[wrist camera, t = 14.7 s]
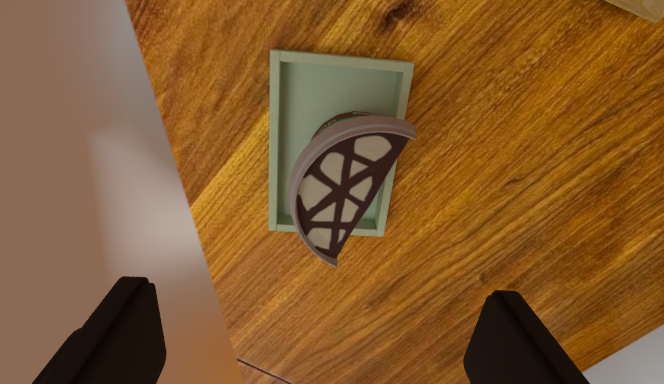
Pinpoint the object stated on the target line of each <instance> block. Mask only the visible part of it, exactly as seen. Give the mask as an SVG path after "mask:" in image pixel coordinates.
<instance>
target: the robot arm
mask: <svg viewBox="0 0 664 384" xmlns="http://www.w3.org/2000/svg"><path fill="white" fill-rule="evenodd" d="M165 360H166V347H165V341H164V335H163V330H162V324H161V318H160V312H159V307H158V300H157V295H156V289H155V285H154V284H153V283H149V281H148V279H147V278H146V277H126V276H123V277H121V278H120V279H119V280H118V281H117V282H116V284H115V285H114V286H113V287H112V289H111V290H110V291H109V293H108V294H107V295H106V296H105V298H104V299H103V300H102V302H101V303H100V304H99V306H98V307H97V308H96V309H95V311H94V312H93V313H92V315H91V316H90V317H89V319H88V320H87V321H86V322H85V324H84V325H83V327H82V328H79V329H78V330H76V331H74V332H73V333H72V334H71V335H70V336H69V337H68V338H67V340H66V341H65V342H64V343H63V345H62V346H61V347H60V349H59V350H58V351H57V352H56V354H55V355H54V356H53V357H52V359H51V360H50V361H49V363H48V364H47V365H46V366H45V368H44V369H43V370H42V371H41V373H40V374H39V375H38V376H37V378H36V379H35V380H34V382H33V383H32V384H156V383H157V381H158V378H159V376H160V374H161V371H162V369H163V367H164V364H165ZM463 363H464V369H465V372H466V374H467V376H468V378H469V381H470V383H471V384H590V383H589V382H588V381H587V379H586V378H585V377H584V376H583V374H582V373H581V372H580V370H579V369H578V368H577V367H576V365H575V364H574V363H573V361H572V360H571V359H570V358H569V356H568V355H567V354H566V352H565V351H564V350H563V349H562V347H561V346H560V345H559V344H558V342H557V341H556V340H555V338H554V337H553V336H552V335H551V333H550V332H549V331H548V329H547V328H546V327H545V326H544V324H543V323H542V322H541V320H540V319H539V318H538V317H537V315H536V314H535V313H534V312H533V310H532V309H531V308H530V306H529V305H528V304H527V303H526V301H525V300H524V299H523V297H522V296H521V295H520V294H519V293H518V292H516V291H503V290H495V291H494V292H493V293H492V295H489V296H488V297H487V298H486V301H485V303H484V306H483V309H482V311H481V314H480V316H479V319H478V322H477V324H476V327H475V329H474V332H473V335H472V337H471V340H470V342H469V345H468V348H467V350H466V353H465V355H464V360H463Z"/></svg>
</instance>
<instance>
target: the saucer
mask: <svg viewBox="0 0 664 384" xmlns="http://www.w3.org/2000/svg"><path fill="white" fill-rule="evenodd" d="M604 1H606V2H608V3H611V4H613V5H615V6H617V7H619V8H622V9H624V10H626V11H628V12H630V13H633V14H635V15H637V16H639V17H641V18H643V19H645V20H647V21H649V22H651V23H656V22H657V21H659V20H660V19H661V18H662V17H663V15H664V0H604Z"/></svg>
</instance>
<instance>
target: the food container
mask: <svg viewBox="0 0 664 384" xmlns="http://www.w3.org/2000/svg"><path fill="white" fill-rule="evenodd" d="M415 135H416V130H415V127H414V124H412V123H409V122H407V121H404V120H402V119H398V118H394V117H389V116H378V115H375V114H372V113H368V112H358V111H353V112H348V113H343V114H339V115H336V116H335V117H333V118H331V119H330V120H328V121H326V122H324V123H323V124H322V125H321V126H320V128H319V129H318V130H317V131H316V132H315V134H314V135H313V137H312V138H311V141H310V142H309V143H308V145H307V146H306V147H305V148H304V149H303V151H302V152H301V153H300V155H299V157H298V158H297V160H296V162H295V164H294V166H293V169H292V172H291V174H290V179H289V184H288V203H289V209H290V213H291V216H292V220H293V222H294V225H295V228H296V230H297V232H298V234H299V236H300V238H301V239H302V240H303V242H304V243H305V244H306V245H307V247H308V248H309V249H310V250H311V251H312V252H313V253H314V254H315V255H316V256H317V257H318V258H320V259H321V260H323V261H324V262H326V263H327V264H329V265H332V266H334V267H336V268H337V256H338V254H339V253H340V252H341V249H342V247H343V245H344V244H345V242H346V240H347V239H348V237H349V236H350V234H351V233H352V231H353V229H354V228H355V226H356V225H357V223H358V222H359V221H360V219H361V218H362V216H363V215H364V214H365V212H366V211H367V209H368V208H369V206H370V205H371V203H372V201H373V199H374V198H375V196H376V194H377V192H378V190H379V188H380V187H381V185H382V183H383V181H384V180H385V178H386V176H387V174H388V173H389V171H390V169H391V168H392V166H393V164H394V163H395V161H396V159H397V158H398V156H399V155H400V153H401V151H402V150H403V148H404V146H405V145H406V143H407V142H408V140H409V138H411V139H414V140H417V139H416V137H415Z"/></svg>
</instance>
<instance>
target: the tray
mask: <svg viewBox="0 0 664 384" xmlns="http://www.w3.org/2000/svg"><path fill="white" fill-rule="evenodd" d="M414 65H415V63H412V62H409V61H405V60H394V59H383V58H373V57H362V56H351V55H340V54H330V53H319V52H308V51H297V50H287V49H276V48H274V49H272V50H270V110H269V221H268V230H270V231H276V230H277V231H289V232H297V230H296V228H295V225H294V222H293V220H292V216H291V213H290V209H289V203H288V184H289V179H290V174H291V172H292V169H293V166H294V164H295V162H296V160H297V158H298V157H299V155H300V153H301V152H302V151H303V149H304V148H305V147H306V146H307V145H308V143H309V142H310V141H311V138H312V137H313V135H314V134H315V132H316V131H317V130H318V129H319V128H320V126H321V125H322V124H323V123H324V122H326V121H328V120H330V119H331V118H333V117H335V116H336V115H339V114H343V113H348V112H353V111H358V112H368V113H372V114H375V115H378V116H389V117H394V118H398V119H402V120H405V114H406V109H407V103H408V98H409V92H410V87H411V81H412V76H413V70H414ZM397 159H398V158H397ZM397 159H396V161H395V163H394V164H393V166H392V168H391V169H390V171H389V173H388V174H387V176H386V178H385V180H384V181H383V183H382V185H381V187H380V188H379V190H378V192H377V194H376V196H375V198H374V199H373V201H372V203H371V205H370V206H369V208H368V209H367V211H366V212H365V214H364V215H363V216H362V218H361V219H360V221H359V222H358V223H357V225H356V226H355V228H354V229H353V231H352V233H351V234H350V235H364V236H380V237H383V236H384V230H385V225H386V219H387V214H388V208H389V203H390V197H391V192H392V186H393V181H394V175H395V170H396V164H397Z"/></svg>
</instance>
